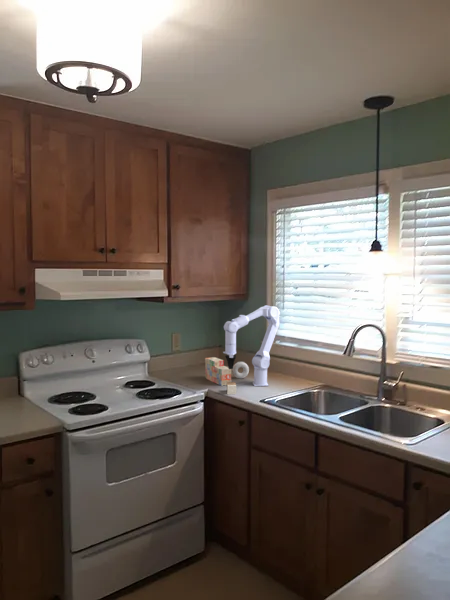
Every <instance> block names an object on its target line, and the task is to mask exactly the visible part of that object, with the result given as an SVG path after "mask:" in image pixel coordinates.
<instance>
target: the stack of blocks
mask: <svg viewBox="0 0 450 600" xmlns="http://www.w3.org/2000/svg"><path fill="white" fill-rule="evenodd" d="M204 363H205V367H204V370H205V373H204V374H205V375H204V376H205V379H206V380H207V381H210V382H213V383H215V384H217V385H219V386H221V387H223V385H225V386H227V382H232V369H229V368H228V366H226V365H225V360H224V359H221V358H218V357H215V356H212V357H205V358H204Z"/></svg>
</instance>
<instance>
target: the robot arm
mask: <svg viewBox="0 0 450 600" xmlns="http://www.w3.org/2000/svg"><path fill="white" fill-rule="evenodd" d="M280 315H281V312H280V310H279V308H278V307H277V306H272V305H271V306H270V305H267V304H266V305H264V306H260V307H259V308H257V309H256V310H254V311H253V312H250V313H248V314H247V315H245V314H239V315H238V317H236V318H233V319H231V321H230V320H227V321H226V322H225V323H224V325H223V330H224V331H225V337H224V338H225V340H224V341H225V346H224V347H225V349H224V350H225V351H222V353H223V354H225V355H224V357H225V359H226V361H227V367H228V368H229V369H231V370H232V369H233V366H234V365H235V364H234V363H235V360H236V358H237V356H236V354H237V332H238V330H239V329H241V328H243V327H246V326H248V325H249V323H250V322H251V321H253V320H254V319H257V318H260V317H264V318H265V319H266V320H267V323H268V326H267V328H266V331H265V334H264V337H263V339H262V343H261V345H260V347H259V350H258V351H257V352H256V353H255V355H254V356H253V357H252V359H251V364H252V365H253V380H252V385H253V387H269V384H268V368H269V367H270V360H271V357H270V351H271V349H272V347H273V343H274V340H275V337H276V334H277V331H278V329H279V326H280Z"/></svg>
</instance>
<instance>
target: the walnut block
mask: <svg viewBox="0 0 450 600" xmlns="http://www.w3.org/2000/svg"><path fill="white" fill-rule="evenodd" d="M226 394H227V395H237V383H236V381H231V382H227V385H226Z"/></svg>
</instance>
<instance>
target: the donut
mask: <svg viewBox="0 0 450 600" xmlns="http://www.w3.org/2000/svg"><path fill="white" fill-rule="evenodd" d="M239 369H242V372H239ZM249 371H250V367H249V365H248V364H247V363H246V362H245V361H237V362H236V363H235V364H234V365H233V369H231V373H232V375H233V376H234V377H235V378H237V379H240V380H241V379H244V378H246V377H247V376H249V375H248V374H249Z"/></svg>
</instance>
